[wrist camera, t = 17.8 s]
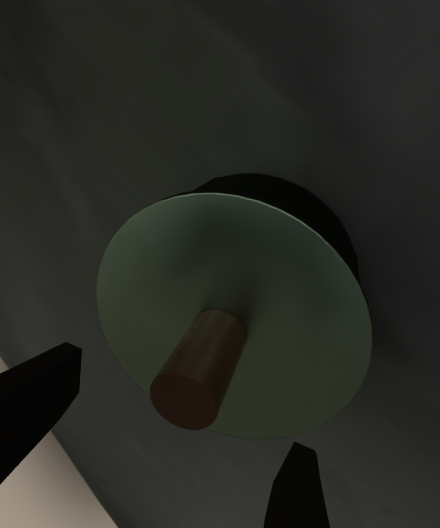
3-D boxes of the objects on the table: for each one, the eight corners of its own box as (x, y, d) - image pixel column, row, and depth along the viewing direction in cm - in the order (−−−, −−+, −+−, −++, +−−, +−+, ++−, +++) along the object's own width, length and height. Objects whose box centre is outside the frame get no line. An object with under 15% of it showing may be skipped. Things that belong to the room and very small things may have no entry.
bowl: (312, 382, 22) (304, 458, 17) (148, 315, 24) (101, 369, 19) (396, 214, 17) (416, 259, 12) (177, 145, 19) (122, 162, 14)
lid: (309, 456, 18) (298, 572, 14) (100, 364, 20) (31, 440, 16) (430, 246, 12) (478, 329, 8) (121, 147, 14) (22, 169, 10)
